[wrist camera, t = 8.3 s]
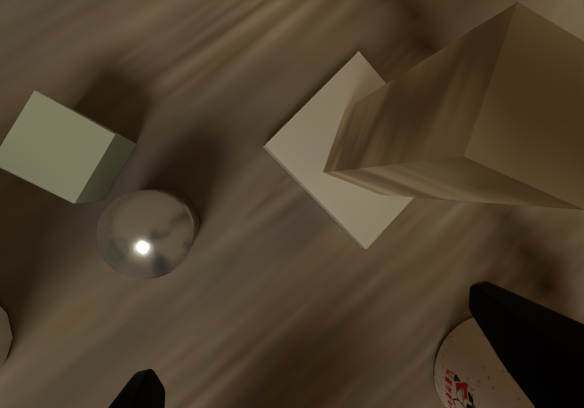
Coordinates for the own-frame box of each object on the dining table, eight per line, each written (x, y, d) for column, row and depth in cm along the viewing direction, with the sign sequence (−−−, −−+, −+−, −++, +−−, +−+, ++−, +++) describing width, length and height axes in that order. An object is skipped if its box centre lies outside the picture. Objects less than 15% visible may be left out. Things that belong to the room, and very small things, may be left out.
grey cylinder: (214, 221, 21) (210, 232, 16) (165, 270, 21) (147, 297, 16) (163, 174, 20) (143, 171, 16) (111, 224, 20) (74, 237, 15)
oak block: (380, 194, 22) (583, 209, 10) (322, 172, 21) (463, 156, 9) (402, 134, 22) (631, 70, 10) (345, 109, 22) (517, 1, 9)
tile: (440, 160, 24) (448, 159, 23) (360, 246, 23) (366, 249, 22) (353, 56, 22) (358, 51, 21) (262, 147, 22) (264, 145, 21)
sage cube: (136, 144, 20) (115, 134, 16) (103, 199, 20) (74, 203, 16) (73, 109, 19) (34, 90, 15) (38, 167, 19) (-10, 162, 15)
